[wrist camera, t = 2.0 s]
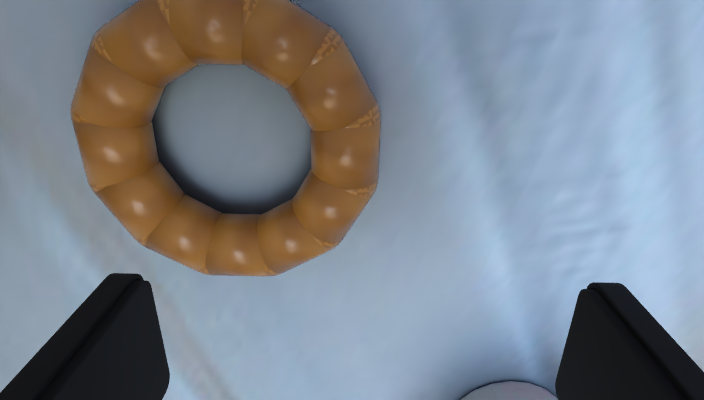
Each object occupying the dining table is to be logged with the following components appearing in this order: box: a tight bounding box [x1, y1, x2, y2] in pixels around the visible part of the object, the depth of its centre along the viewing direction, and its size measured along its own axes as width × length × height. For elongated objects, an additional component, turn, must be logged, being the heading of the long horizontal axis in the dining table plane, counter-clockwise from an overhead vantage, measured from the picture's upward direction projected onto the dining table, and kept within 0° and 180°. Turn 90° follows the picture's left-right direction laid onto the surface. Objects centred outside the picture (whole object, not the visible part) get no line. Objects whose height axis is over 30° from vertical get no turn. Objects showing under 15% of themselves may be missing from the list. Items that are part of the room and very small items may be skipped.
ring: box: [71, 0, 381, 276], centre depth 20 cm, size 13×13×3 cm
